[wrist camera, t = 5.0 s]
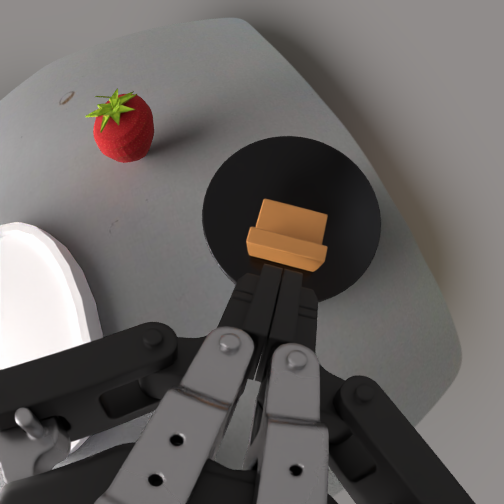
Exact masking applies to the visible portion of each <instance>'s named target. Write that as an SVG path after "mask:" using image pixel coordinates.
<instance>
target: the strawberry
mask: <svg viewBox="0 0 504 504" xmlns="http://www.w3.org/2000/svg"><path fill="white" fill-rule="evenodd" d="M133 92H134V91H133ZM133 92H131V93H128V94H121V95H118V88H117V90H116V91H115V92H114V94H113V95H112V97H106V96H95V97H106V98H110V99H109V101H107V102H106V103H105V104H97V106H98V107H99V109H97V110H96V111H94V112H92V113H90V114H88V115H86V117H96V120H95V124H94V131H93V132H94V138H95V141H96V143H97V145H98V147H99V149H100V150H101V152H102V153H103V154H104V155H106V156H108V157H110V158H112V159H114V160H116V161H118V162H123V163H125V162H132V161H137V160H139V159H141V158H143V157H145V156H146V154H147V152H148V151H149V149H150V146H151V143H152V139H153V136H154V124H153V115H152V112H151V109H150V108H149V106H148V105H147V104H146V102H145V101H144V100H143V99H142V98H141V97H139V96H137V94H135V95H134V94H132V93H133Z"/></svg>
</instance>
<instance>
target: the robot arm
mask: <svg viewBox="0 0 504 504" xmlns="http://www.w3.org/2000/svg"><path fill="white" fill-rule="evenodd" d="M282 270H283V268H280V267H276V266H272V265H269V264H265V263H264V266H263V269H262V272H261V275H260V276H258V275H254V274H251V273H246V274H245V275H243V276H242V277H241V278H239V279H238V281H237V284H236V286H235V288H234V290H233V293H232V295H231V298H230V300H229V302H228V304H227V307H226V309H225V311H224V313H223V316H222V318H221V320H220V323H219V325H218V327H217V328H216V329H214V330H212V331H211V332H210V333H209V334H208V335H207V336H204V337H200V338H181V337H177V336H176V334H175V332H174V331H173V329H171V328H170V327H169V326H167V325H165V324H163V323H159V322H147V323H144V324H141V325H138V326H135V327H132V328H129V329H126V330H123V331H120V332H118V333H115V334H112V335H109V336H106V337H103V338H100V339H97V340H94V341H91V342H88V343H85V344H82V345H79V346H76V347H73V348H70V349H66V350H63V351H60V352H57V353H54V354H51V355H48V356H44V357H41V358H38V359H35V360H32V361H28V362H25V363H22V364H18V365H15V366H12V367H8V368H5V369H2V370H0V469H1V472H2V476H3V478H4V481H5V485H4V486H3V487H2V488H1V489H0V504H338V503H337V502H336V501H335V500H334V499H333V498H332V497H331V496H330V495H329V494H328V493H327V492H328V466H329V467H330V468H331V470H332V471H333V473H334V474H335V475H336V477H337V478H338V480H339V481H340V482H341V484H342V485H343V487H344V488H345V489H346V491H347V492H348V493H349V495H350V496H351V498H352V499H353V500H354V502H355V503H356V504H475V503H474V501H473V500H472V499H471V498H470V496H469V495H468V494H467V493H466V491H465V490H464V489H463V488H462V486H461V485H460V484H459V483H458V481H457V480H456V479H455V478H454V476H453V475H452V474H451V473H450V471H449V470H448V469H447V468H446V467H445V465H444V464H443V463H442V462H441V460H440V459H439V458H438V457H437V455H436V454H435V453H434V452H433V450H432V449H431V448H430V447H429V446H428V444H427V443H426V442H425V441H424V439H423V438H422V437H421V436H420V434H419V433H418V432H417V431H416V430H415V428H414V427H413V426H412V425H411V424H410V422H409V421H408V420H407V419H406V417H405V416H404V415H403V414H402V413H401V411H400V410H399V409H398V408H397V407H396V405H395V404H394V403H393V402H392V401H391V399H390V398H389V397H388V396H387V395H386V393H385V392H384V391H383V390H382V389H381V387H380V386H379V385H378V384H377V383H376V382H375V381H374V380H372V379H370V378H368V377H365V376H352V377H350V378H348V379H347V380H346V381H345V380H343V379H341V378H339V377H337V376H335V375H333V374H331V373H329V372H328V371H326V370H325V369H324V368H323V367H322V366H321V365H320V364H319V360H318V358H317V356H316V354H315V346H316V331H317V310H318V298H317V296H316V294H315V292H314V290H313V289H309V288H305V287H302V279H303V273H300V272H296V271H292V270H288V269H284V271H283V275H282V278H281V274H282ZM280 279H281V282H280ZM279 283H280V285H279ZM278 288H279V289H278ZM261 354H262V355H261ZM260 357H261V359H260ZM259 360H260V362H259ZM258 363H259V366H258ZM257 366H258V370H257V374H256V378H255V381H259V382H261V385H260V389H259V393H258V395H257V398H256V401H255V406H254V412H253V418H252V424H251V430H250V436H249V442H248V448H247V452H246V455H245V458H244V462H243V467H242V470H232V469H229V468H226V467H224V466H223V465H221V464H219V463H217V462H215V461H214V460H215V458H216V456H217V453H218V450H219V448H220V445H221V442H222V440H223V437H224V435H225V433H226V430H227V428H228V425H229V423H230V421H231V418H232V416H233V413H234V411H235V408H236V406H237V403H238V401H239V398H240V396H241V395H242V393H243V392H244V389H245V386H246V383H247V379H251V380H253V378H254V375H255V372H256V369H257ZM154 410H155V412H154V414H153V415H152V417H151V419H150V420H149V422H148V424H147V425H146V427H145V429H144V430H143V432H142V434H141V435H140V437H139V439H138V440H137V442H135V443H127V444H122V445H118V446H115V447H112V448H109V449H107V450H105V451H102V452H100V453H97V454H95V455H92V456H90V457H87V458H84V459H82V460H79V461H76V462H74V463H71V464H68V465H65V466H62V467H59V468H56V469H53V470H52V468H53V467H54V466H55V465H56V464H58V463H60V462H62V461H64V460H65V459H66V458H67V457H68V455H69V453H70V450H71V442H73V441H76V440H79V439H82V438H85V437H88V436H91V435H94V434H96V433H99V432H102V431H105V430H107V429H110V428H113V427H115V426H118V425H120V424H123V423H125V422H128V421H130V420H133V419H135V418H138V417H140V416H142V415H145V414H147V413H149V412H152V411H154Z"/></svg>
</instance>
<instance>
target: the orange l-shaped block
mask: <svg viewBox="0 0 504 504" xmlns="http://www.w3.org/2000/svg"><path fill="white" fill-rule="evenodd" d="M327 217H328V216H327V215H326V214H323V213H319V212H315V211H312V210H308V209H304V208H300V207H297V206H293V205H289V204H285V203H281V202H277V201H273V200H269V199H264V200H263V203H262V206H261V210H260V213H259V217H258V220H257V224H256V227H250V230H249V234H248V237H247V241H246V242H247V248H248V253H249V255H250V256H254V257H258V258H262V259H266V260H269V261H273V262H277V263H281V264H285V265H289V266H292V267H296V268H300V269H304V270H308V271H312V272H314V271H316V270H317V269H318V268H319V267H320V266H321V265H322V264H323V263H324V262H325V258H326V253H327V248H328V247H327V246H324V245H322V242H323V237H324V232H325V227H326V222H327Z"/></svg>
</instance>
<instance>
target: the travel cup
mask: <svg viewBox="0 0 504 504" xmlns="http://www.w3.org/2000/svg"><path fill="white" fill-rule="evenodd" d="M264 199H269V200H273V201H277V202H281V203H285V204H289V205H293V206H297V207H300V208H304V209H308V210H312V211H315V212H319V213H323V214H326V215H327V216H328V217H327V222H326V227H325V232H324V237H323V242H322V245H324V246H327V247H328V248H327V253H326V258H325V262H324V263H323V264H322V265H321V266H320V267H319V268H318V269H317V270H316V271H314V272H312V271H308V270H304V269H300V268H296V267H292V266H289V265H285V264H281V263H277V262H273V261H269V260H266V259H262V258H258V257H254V256H250V255H249V253H248V248H247V242H246V241H247V237H248V234H249V230H250V227H256V224H257V220H258V217H259V213H260V210H261V206H262V203H263V200H264ZM202 223H203V230H204V235H205V239H206V242H207V245H208V248H209V250H210V252H211V254H212V256H213V258H214V259H215V261H216V262H217V264H218V266H219V267H220V269H221V270H222V271H223V272H224V273H225V275H226V276H227V277H228V278H229V279H230V280H231V281H232V282H233V283H234V284H235V286H236V284H237V281H238V279H239V278H241V277H242V276H243V275H245V274H246V273H251V274H254V275H258V276H260V275H261V272H262V269H263V266H264V263H265V264H269V265H272V266H276V267H280V268H283V270H282V274H281V278H282V275H283V271H284V269H288V270H292V271H296V272H300V273H303V279H302V287H305V288H309V289H313V290H314V292H315V294H316V296H317V298H318V302H321V301H324V300H326V299H329V298H331V297H334V296H336V295H338V294H339V293H341V292H343V291H345V290H346V289H347V288H349V287H350V286H351V285H353V284H354V283H355V282H356V281H357V280H358V279H359V278H360V277H361V276H362V275H363V274H364V272H365V271H366V269H367V268H368V267H369V265H370V263H371V261H372V259H373V257H374V256H375V253H376V250H377V247H378V243H379V238H380V231H381V218H380V210H379V205H378V201H377V198H376V196H375V193H374V191H373V188H372V186H371V185H370V183H369V181H368V179H367V178H366V176H365V175H364V174H363V172H362V171H361V170H360V169H359V168H358V166H357V165H356V164H355V163H353V162H352V161H351V160H350V159H349V158H348V157H347V156H345V155H344V154H343V153H341V152H340V151H338V150H336V149H334V148H333V147H331V146H329V145H326V144H324V143H322V142H319V141H316V140H313V139H308V138H303V137H294V136H280V137H272V138H267V139H263V140H260V141H257V142H254V143H252V144H249V145H247V146H246V147H244V148H242V149H240V150H239V151H237V152H236V153H234V154H233V155H232V156H231V157H229V158H228V159H227V160H226V161H225V162H224V163H223V164H222V165H221V167H220V168H219V169H218V170H217V172H216V173H215V175H214V177H213V178H212V180H211V182H210V184H209V186H208V188H207V191H206V195H205V198H204V203H203V210H202ZM280 282H281V279H280ZM279 285H280V283H279ZM278 289H279V288H278Z"/></svg>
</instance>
